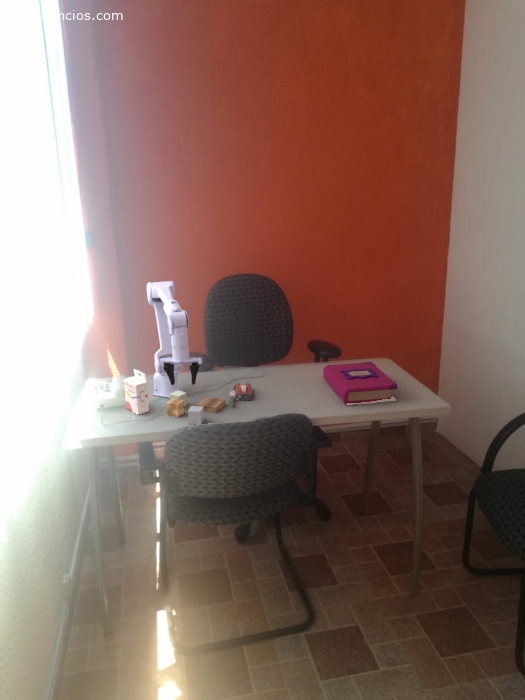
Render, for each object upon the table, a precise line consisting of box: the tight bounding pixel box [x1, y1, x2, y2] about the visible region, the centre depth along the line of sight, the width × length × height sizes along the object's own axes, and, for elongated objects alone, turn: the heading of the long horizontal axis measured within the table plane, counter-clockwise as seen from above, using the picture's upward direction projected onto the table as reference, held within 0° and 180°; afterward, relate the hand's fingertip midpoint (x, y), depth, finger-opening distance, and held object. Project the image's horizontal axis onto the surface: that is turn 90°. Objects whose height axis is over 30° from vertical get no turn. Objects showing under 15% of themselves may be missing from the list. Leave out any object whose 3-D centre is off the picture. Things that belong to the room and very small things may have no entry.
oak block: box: [166, 398, 185, 418], centre depth 199 cm, size 4×4×5 cm
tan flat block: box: [195, 396, 226, 414], centre depth 205 cm, size 8×8×2 cm
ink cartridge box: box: [123, 368, 150, 416], centre depth 201 cm, size 9×5×15 cm, turn 44°
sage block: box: [168, 390, 188, 407], centre depth 206 cm, size 4×4×5 cm
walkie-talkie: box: [229, 382, 254, 408], centre depth 213 cm, size 9×4×20 cm
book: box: [322, 361, 398, 405], centre depth 219 cm, size 21×28×8 cm
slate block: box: [187, 405, 205, 425], centre depth 193 cm, size 4×4×5 cm
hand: (183, 384), depth 195 cm, fingers open, 7 cm apart
